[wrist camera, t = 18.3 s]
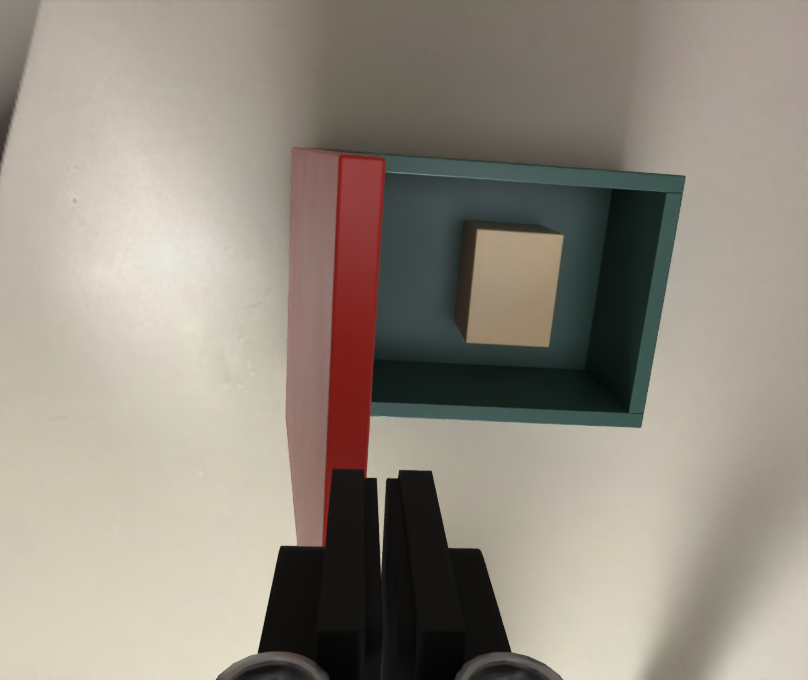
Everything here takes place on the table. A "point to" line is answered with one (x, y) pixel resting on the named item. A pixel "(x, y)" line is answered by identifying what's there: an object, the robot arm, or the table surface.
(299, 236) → the lid
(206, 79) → the table surface
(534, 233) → the kraft parcel
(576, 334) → the box
